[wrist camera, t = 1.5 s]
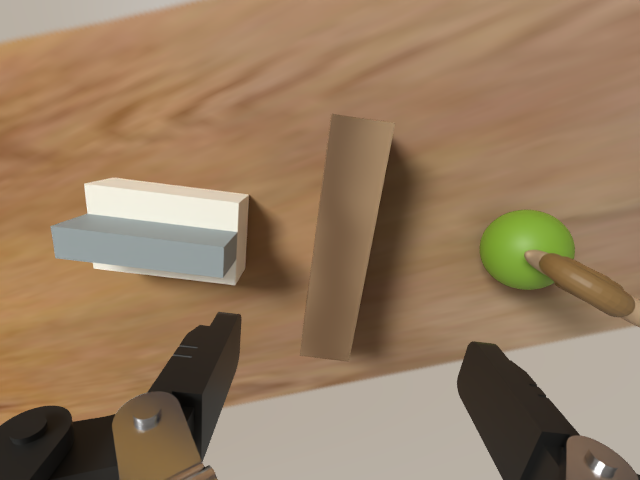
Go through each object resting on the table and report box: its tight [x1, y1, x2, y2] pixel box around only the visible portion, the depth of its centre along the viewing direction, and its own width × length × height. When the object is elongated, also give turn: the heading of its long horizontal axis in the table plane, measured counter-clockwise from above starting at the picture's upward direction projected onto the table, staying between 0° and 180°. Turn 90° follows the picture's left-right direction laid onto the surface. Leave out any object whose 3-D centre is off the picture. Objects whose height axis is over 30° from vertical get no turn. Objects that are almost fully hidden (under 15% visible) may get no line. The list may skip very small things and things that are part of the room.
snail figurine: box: [480, 210, 640, 327], centre depth 19 cm, size 5×6×12 cm
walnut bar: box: [300, 114, 395, 362], centre depth 22 cm, size 4×16×5 cm, turn 173°
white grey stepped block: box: [51, 178, 249, 285], centre depth 22 cm, size 10×6×6 cm, turn 83°
